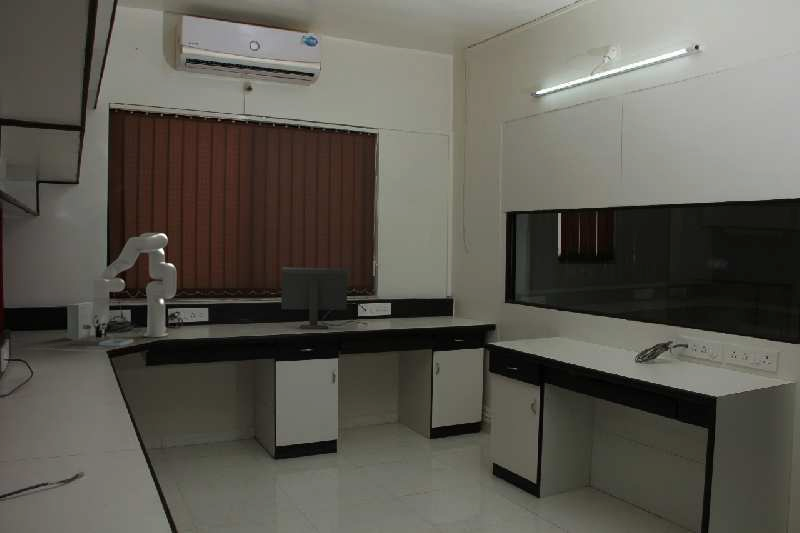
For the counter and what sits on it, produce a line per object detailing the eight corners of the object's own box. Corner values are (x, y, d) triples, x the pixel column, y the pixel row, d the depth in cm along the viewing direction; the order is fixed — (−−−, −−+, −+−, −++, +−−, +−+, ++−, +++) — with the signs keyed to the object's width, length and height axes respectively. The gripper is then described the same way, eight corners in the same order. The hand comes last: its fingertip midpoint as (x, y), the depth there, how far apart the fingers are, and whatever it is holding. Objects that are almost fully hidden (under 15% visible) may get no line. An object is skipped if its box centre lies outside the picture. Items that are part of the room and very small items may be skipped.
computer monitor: (346, 326, 427) (347, 268, 426) (346, 329, 411) (347, 269, 410) (282, 325, 424) (283, 267, 423) (279, 328, 408) (280, 267, 407)
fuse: (85, 341, 328) (85, 324, 328) (92, 341, 328) (92, 324, 327) (81, 342, 324) (81, 325, 324) (88, 342, 324) (88, 325, 324)
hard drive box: (90, 337, 350) (90, 301, 349) (100, 338, 347) (101, 302, 347) (66, 340, 335) (67, 303, 335) (77, 341, 333) (78, 304, 332)
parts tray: (112, 343, 330) (113, 338, 330) (133, 343, 330) (133, 339, 329) (99, 347, 316) (99, 342, 316) (120, 348, 316) (120, 343, 315)
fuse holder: (87, 341, 334) (88, 334, 334) (115, 342, 333) (115, 335, 333) (71, 346, 318) (71, 338, 318) (99, 346, 317) (99, 339, 317)
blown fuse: (99, 341, 328) (99, 324, 327) (106, 342, 327) (106, 325, 327) (95, 342, 324) (95, 325, 324) (102, 343, 324) (102, 325, 323)
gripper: (102, 300, 333) (101, 334, 334) (85, 303, 317) (85, 339, 317) (116, 301, 333) (115, 335, 334) (100, 303, 317) (99, 339, 317)
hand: (100, 336), depth 325 cm, fingers closed on blown fuse, 3 cm apart
